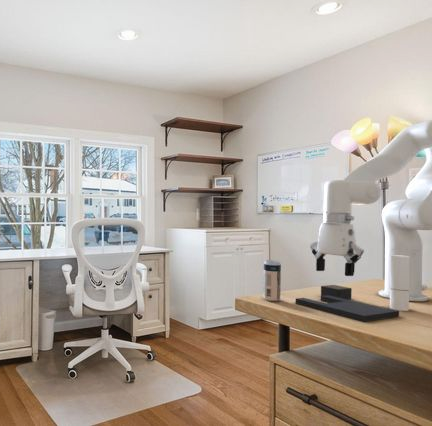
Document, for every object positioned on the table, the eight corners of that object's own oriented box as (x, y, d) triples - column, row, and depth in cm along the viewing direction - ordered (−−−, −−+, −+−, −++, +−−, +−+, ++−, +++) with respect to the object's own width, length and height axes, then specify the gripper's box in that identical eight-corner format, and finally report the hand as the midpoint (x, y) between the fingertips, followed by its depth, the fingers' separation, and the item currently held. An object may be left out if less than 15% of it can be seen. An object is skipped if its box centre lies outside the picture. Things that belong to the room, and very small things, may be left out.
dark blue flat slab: (328, 299, 117) (328, 295, 117) (399, 316, 98) (399, 310, 98) (295, 303, 111) (295, 298, 111) (364, 322, 93) (364, 315, 93)
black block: (333, 295, 123) (333, 284, 123) (351, 299, 118) (351, 288, 118) (320, 296, 121) (320, 285, 121) (338, 300, 116) (338, 289, 116)
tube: (412, 311, 104) (412, 257, 104) (394, 310, 105) (395, 256, 105) (403, 307, 108) (404, 255, 108) (386, 306, 109) (387, 254, 109)
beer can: (283, 302, 113) (283, 261, 113) (267, 301, 113) (267, 261, 113) (276, 298, 118) (276, 259, 118) (260, 298, 118) (261, 259, 118)
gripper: (372, 220, 113) (369, 277, 113) (320, 219, 129) (317, 269, 129) (355, 219, 110) (353, 278, 110) (304, 218, 126) (302, 269, 126)
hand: (334, 273), depth 119 cm, fingers open, 9 cm apart
